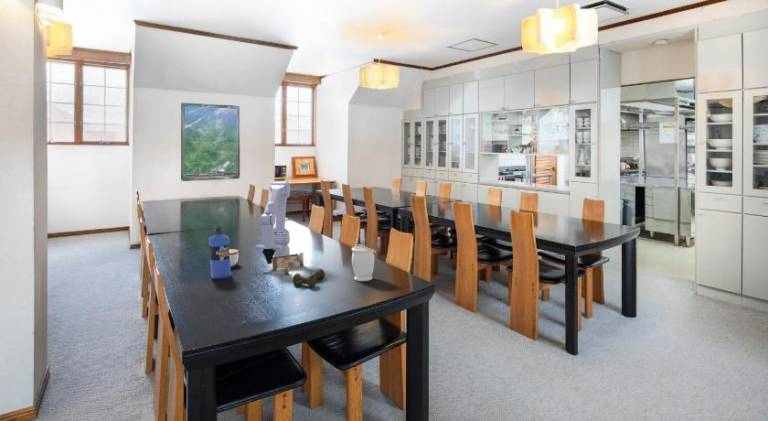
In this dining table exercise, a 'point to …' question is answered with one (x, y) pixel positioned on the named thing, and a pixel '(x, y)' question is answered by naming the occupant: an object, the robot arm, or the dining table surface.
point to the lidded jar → (233, 256)
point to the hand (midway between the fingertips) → (269, 263)
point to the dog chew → (308, 278)
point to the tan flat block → (279, 260)
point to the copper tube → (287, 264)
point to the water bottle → (219, 254)
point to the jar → (362, 263)
